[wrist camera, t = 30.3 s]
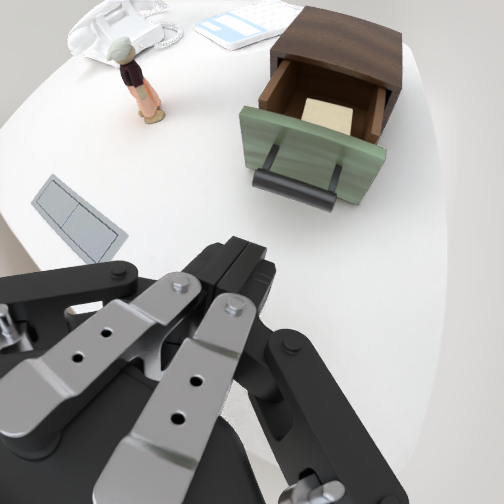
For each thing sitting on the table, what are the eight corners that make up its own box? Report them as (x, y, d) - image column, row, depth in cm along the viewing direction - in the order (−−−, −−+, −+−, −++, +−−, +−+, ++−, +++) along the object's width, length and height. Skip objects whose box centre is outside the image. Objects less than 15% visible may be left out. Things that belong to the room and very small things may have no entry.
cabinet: (375, 146, 29) (402, 88, 20) (270, 113, 32) (269, 49, 22) (385, 81, 33) (401, 33, 24) (302, 56, 35) (305, 5, 26)
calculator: (321, 24, 39) (322, 17, 37) (230, 53, 36) (228, 43, 34) (276, 4, 43) (276, -3, 41) (192, 30, 40) (190, 22, 38)
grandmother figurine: (177, 113, 32) (148, 35, 20) (154, 132, 32) (116, 55, 20) (147, 94, 34) (117, 27, 22) (126, 110, 34) (90, 44, 22)
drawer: (348, 244, 25) (376, 207, 18) (228, 202, 27) (214, 154, 20) (376, 117, 30) (395, 71, 22) (286, 89, 32) (288, 40, 24)
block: (343, 137, 28) (352, 109, 23) (339, 170, 26) (349, 142, 22) (303, 127, 28) (307, 97, 24) (294, 159, 27) (298, 129, 23)
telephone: (157, 10, 46) (145, -29, 34) (218, 20, 41) (210, -31, 29) (69, 69, 41) (45, 29, 29) (111, 89, 36) (81, 33, 24)
